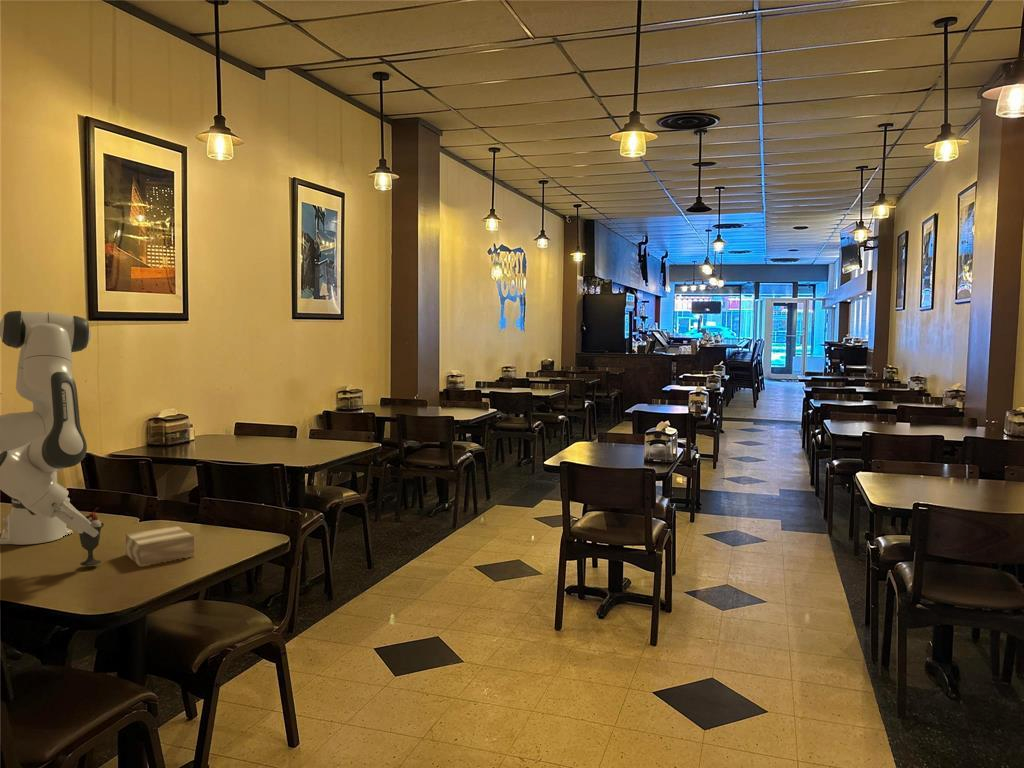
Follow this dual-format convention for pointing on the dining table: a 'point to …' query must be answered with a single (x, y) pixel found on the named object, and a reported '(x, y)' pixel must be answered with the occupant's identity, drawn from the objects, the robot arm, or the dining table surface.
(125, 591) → the dining table surface
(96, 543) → the sundae
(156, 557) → the block
